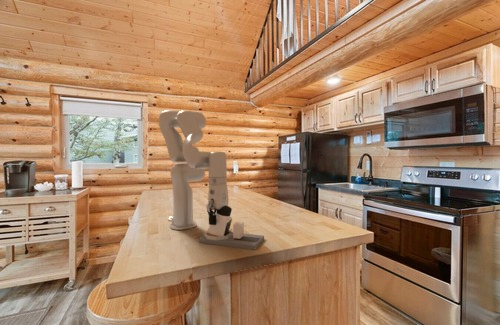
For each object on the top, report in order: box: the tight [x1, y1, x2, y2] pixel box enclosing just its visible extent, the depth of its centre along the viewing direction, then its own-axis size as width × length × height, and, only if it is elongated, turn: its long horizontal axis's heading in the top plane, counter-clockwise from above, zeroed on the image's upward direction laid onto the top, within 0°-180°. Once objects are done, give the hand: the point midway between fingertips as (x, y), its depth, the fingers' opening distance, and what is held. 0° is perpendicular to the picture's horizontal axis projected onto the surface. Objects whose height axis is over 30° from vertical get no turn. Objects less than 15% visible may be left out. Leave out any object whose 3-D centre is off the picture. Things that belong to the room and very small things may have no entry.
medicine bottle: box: [207, 205, 233, 237], centre depth 100 cm, size 7×7×12 cm
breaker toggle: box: [232, 221, 245, 239], centre depth 97 cm, size 3×4×6 cm
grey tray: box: [198, 229, 265, 251], centre depth 98 cm, size 24×12×3 cm, turn 70°
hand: (218, 221), depth 100 cm, fingers open, 9 cm apart
